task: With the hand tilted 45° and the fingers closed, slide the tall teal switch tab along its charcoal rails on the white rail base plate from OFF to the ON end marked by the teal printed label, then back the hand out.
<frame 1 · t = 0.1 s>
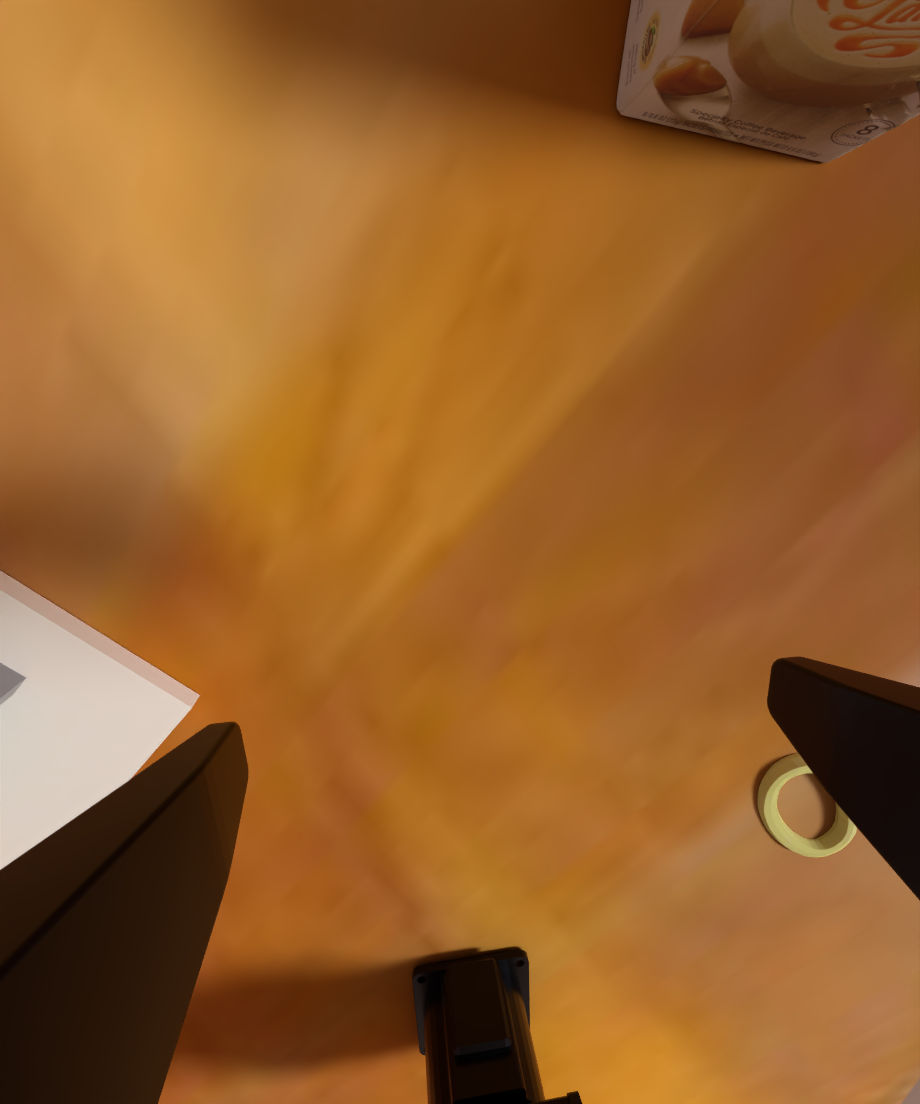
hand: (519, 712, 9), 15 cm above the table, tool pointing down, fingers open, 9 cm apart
coffee box: (741, 48, 20), on the table
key: (842, 763, 30), on the table
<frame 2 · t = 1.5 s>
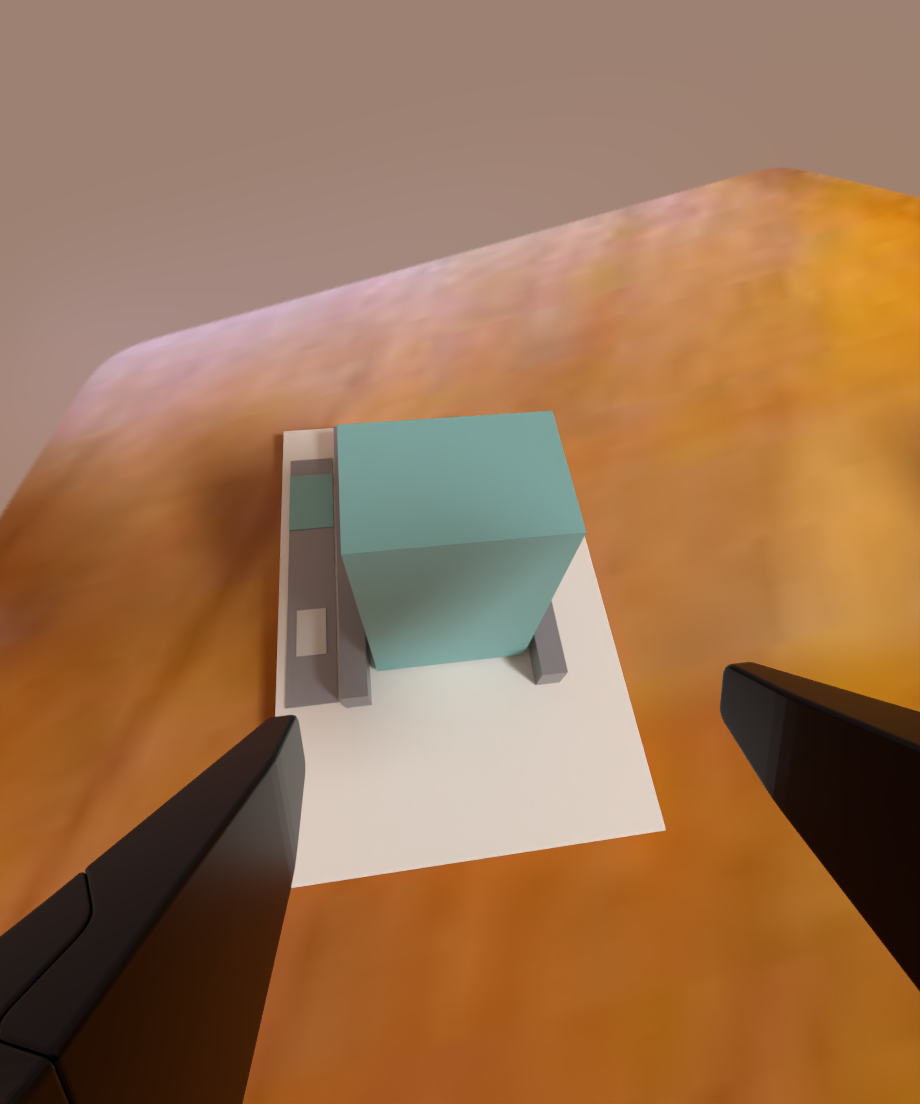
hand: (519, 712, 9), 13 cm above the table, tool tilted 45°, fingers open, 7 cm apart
switch tab: (449, 563, 18), point 6 cm above the table, slide at 0.0 cm
white rail base plate: (442, 606, 24), on the table
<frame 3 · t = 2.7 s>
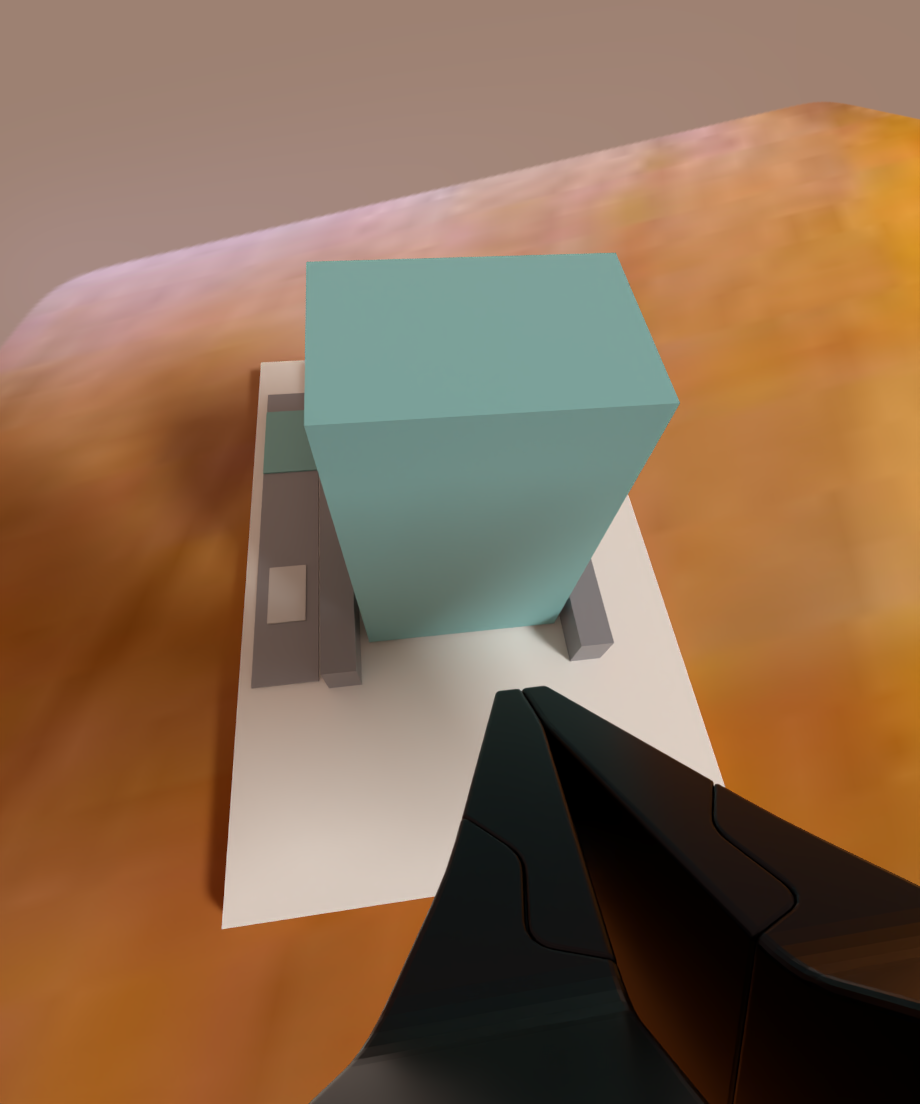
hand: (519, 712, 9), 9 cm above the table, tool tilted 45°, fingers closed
switch tab: (464, 492, 14), point 6 cm above the table, slide at 0.0 cm
white rail base plate: (451, 566, 20), on the table
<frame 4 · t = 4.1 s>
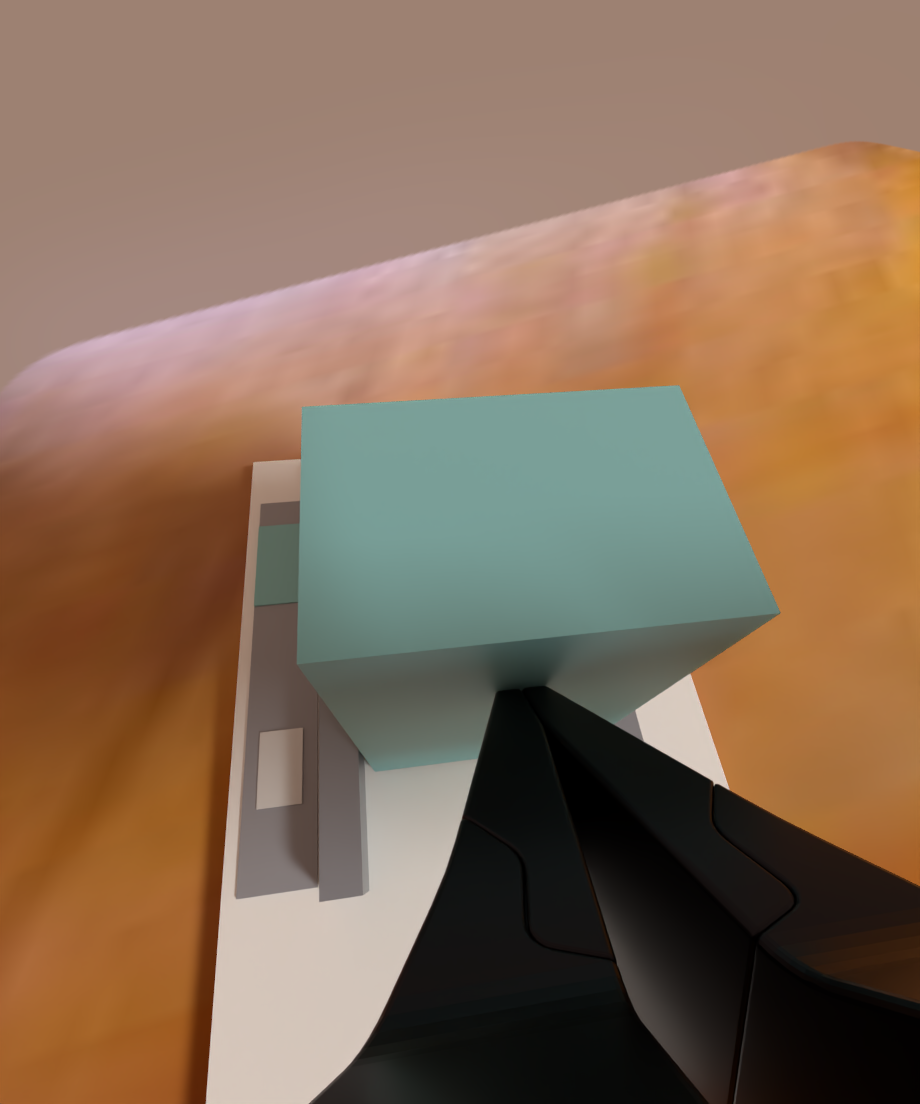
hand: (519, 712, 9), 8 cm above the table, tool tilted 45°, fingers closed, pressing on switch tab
switch tab: (486, 629, 12), point 6 cm above the table, slide at 1.6 cm, touching gripper
white rail base plate: (471, 715, 17), on the table
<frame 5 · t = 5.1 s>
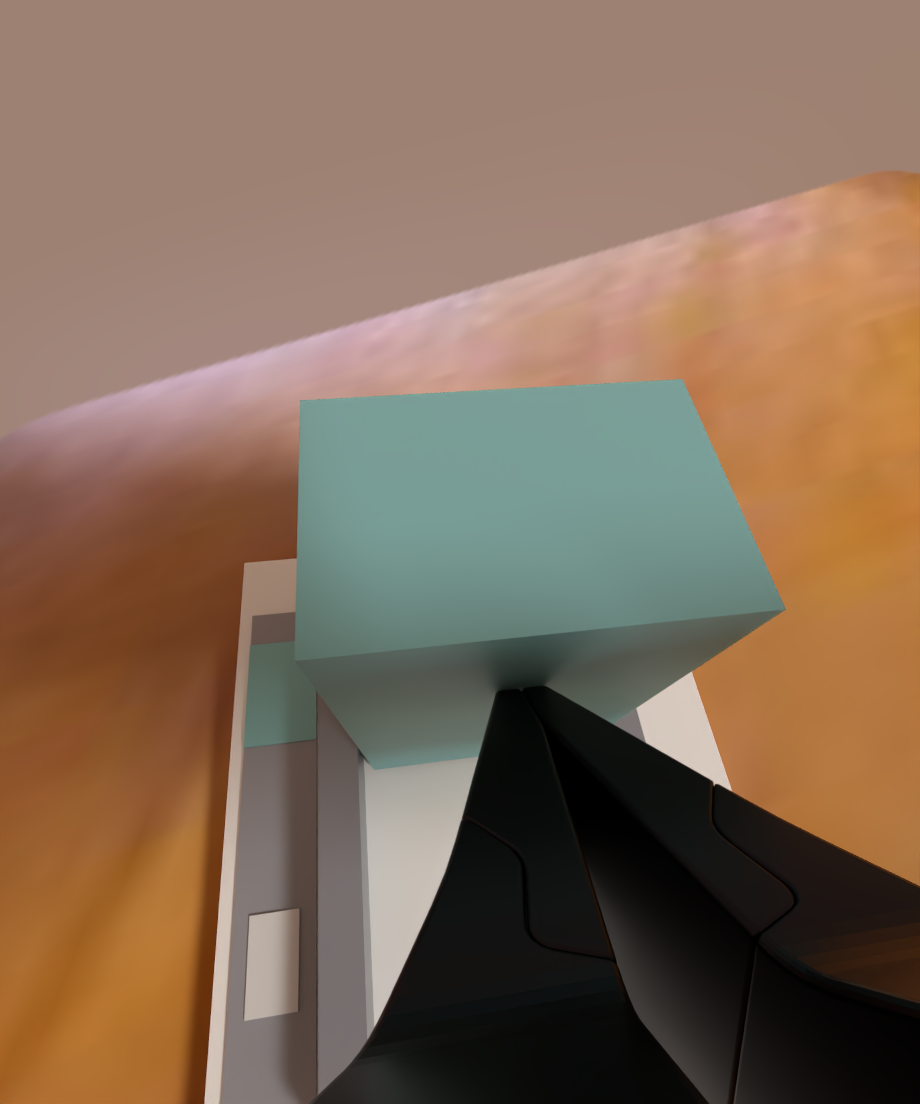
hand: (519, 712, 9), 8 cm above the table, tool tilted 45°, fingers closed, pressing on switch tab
switch tab: (487, 626, 12), point 6 cm above the table, slide at 6.0 cm, touching gripper
white rail base plate: (493, 875, 15), on the table
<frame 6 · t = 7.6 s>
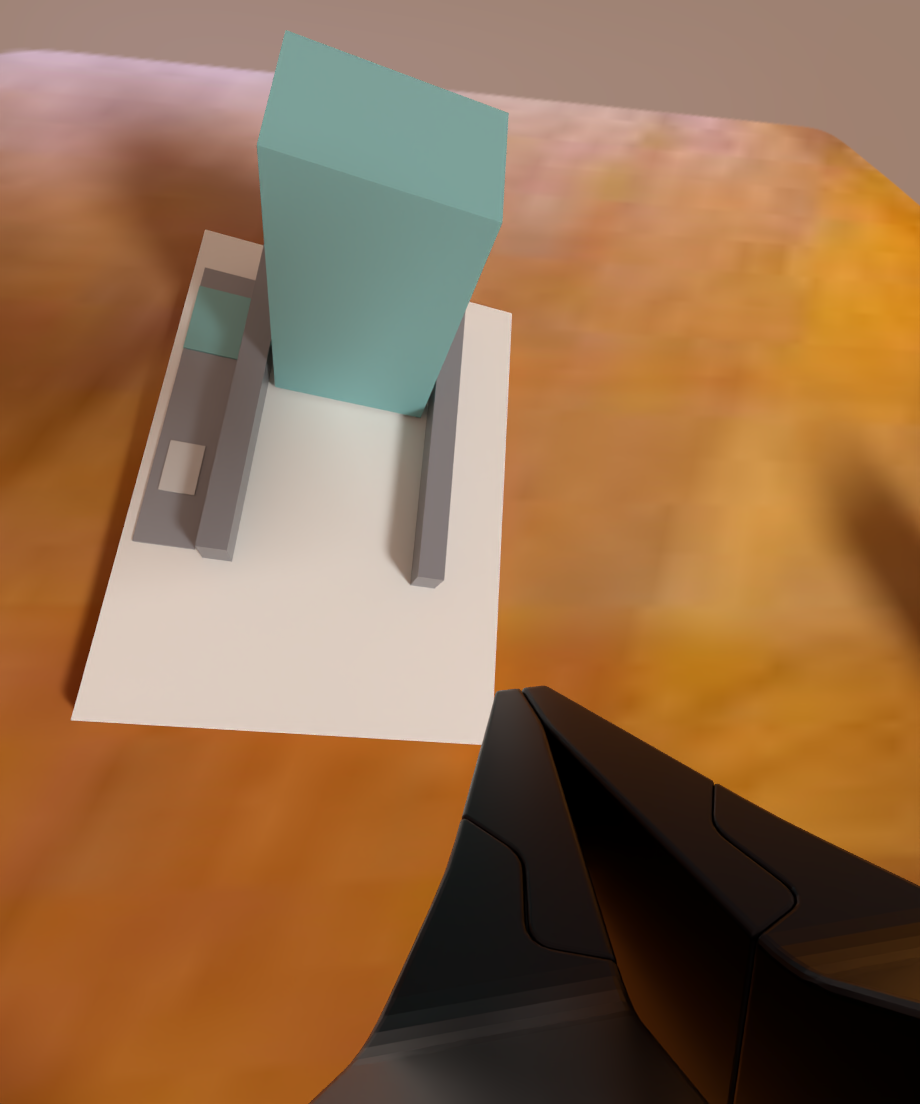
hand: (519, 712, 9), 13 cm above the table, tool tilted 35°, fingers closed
switch tab: (370, 274, 18), point 6 cm above the table, slide at 6.1 cm
white rail base plate: (338, 481, 22), on the table
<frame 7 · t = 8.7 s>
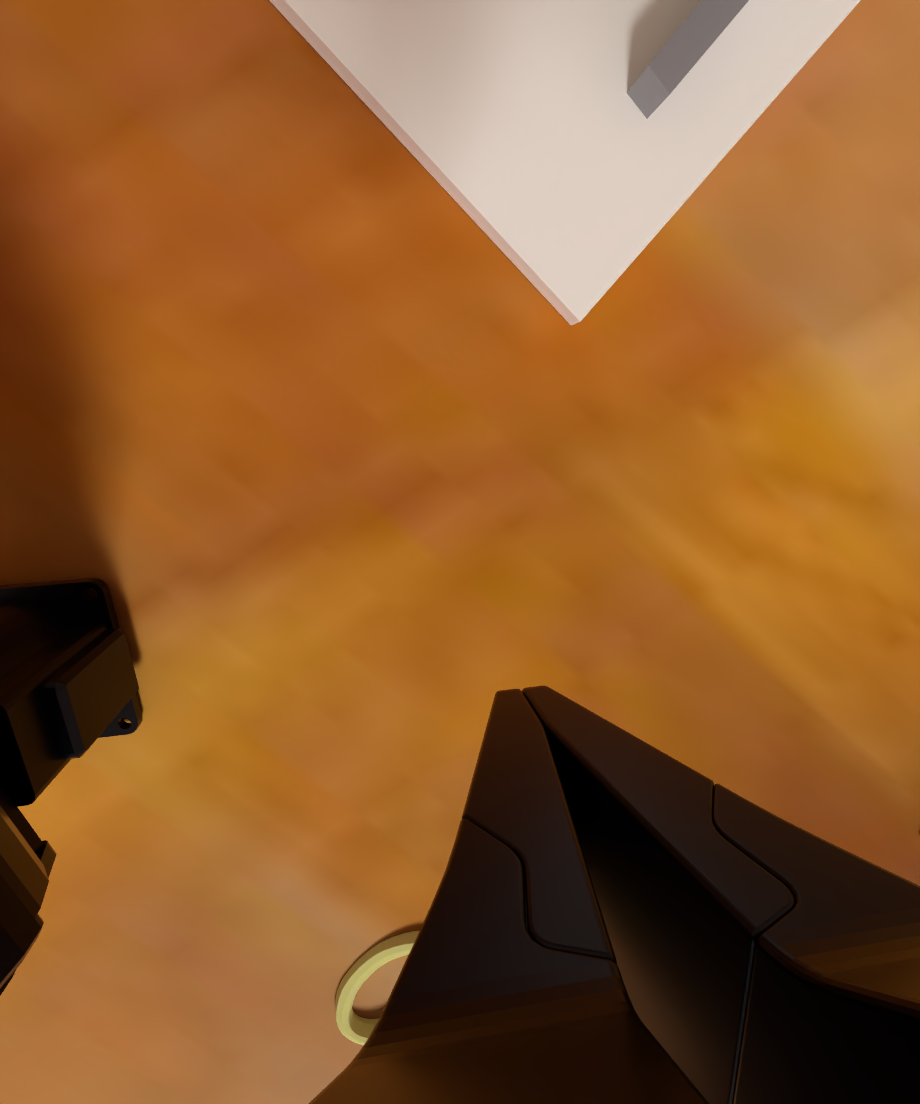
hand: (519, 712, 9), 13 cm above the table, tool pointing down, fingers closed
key: (440, 989, 29), on the table
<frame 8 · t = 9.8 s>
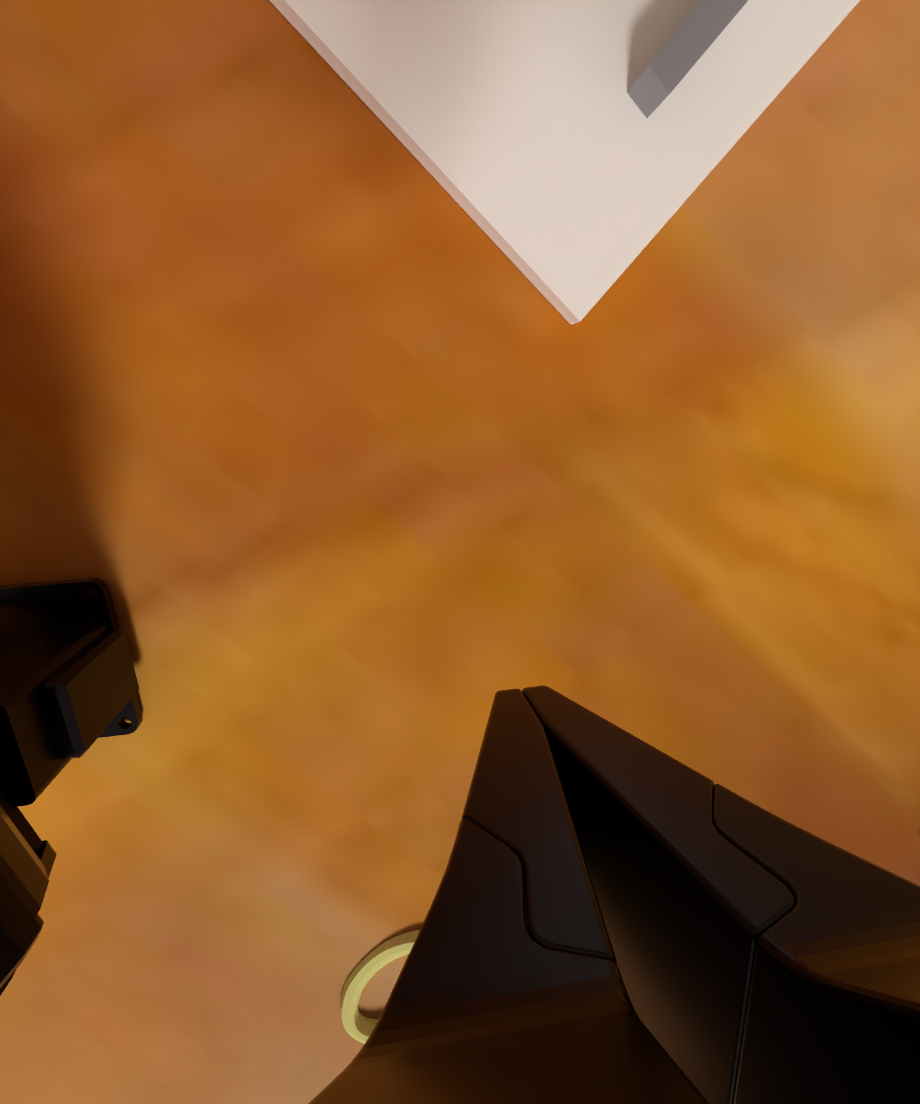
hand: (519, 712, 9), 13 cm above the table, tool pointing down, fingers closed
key: (446, 988, 29), on the table
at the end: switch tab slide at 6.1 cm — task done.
